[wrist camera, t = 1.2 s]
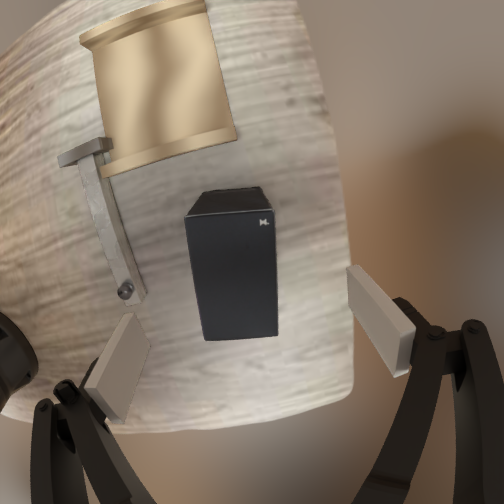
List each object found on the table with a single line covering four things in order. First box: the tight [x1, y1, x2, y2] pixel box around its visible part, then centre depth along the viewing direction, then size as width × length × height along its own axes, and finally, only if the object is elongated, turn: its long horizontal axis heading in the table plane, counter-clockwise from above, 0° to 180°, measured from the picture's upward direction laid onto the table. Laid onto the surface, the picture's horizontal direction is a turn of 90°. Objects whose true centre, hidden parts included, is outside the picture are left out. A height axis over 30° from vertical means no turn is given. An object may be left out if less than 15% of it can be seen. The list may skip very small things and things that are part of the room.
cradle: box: [57, 0, 237, 179], centre depth 22 cm, size 18×16×4 cm
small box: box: [184, 187, 278, 341], centre depth 25 cm, size 11×6×10 cm, turn 4°
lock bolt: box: [77, 153, 147, 306], centre depth 26 cm, size 2×18×3 cm, turn 12°
